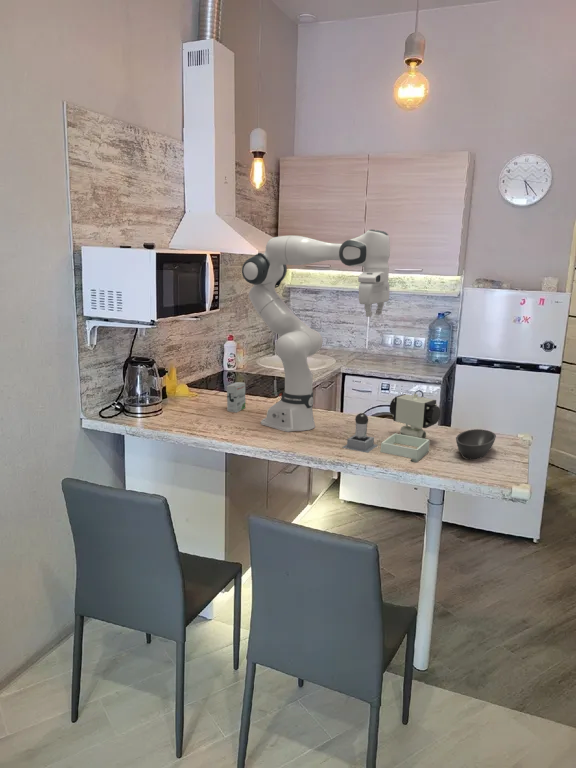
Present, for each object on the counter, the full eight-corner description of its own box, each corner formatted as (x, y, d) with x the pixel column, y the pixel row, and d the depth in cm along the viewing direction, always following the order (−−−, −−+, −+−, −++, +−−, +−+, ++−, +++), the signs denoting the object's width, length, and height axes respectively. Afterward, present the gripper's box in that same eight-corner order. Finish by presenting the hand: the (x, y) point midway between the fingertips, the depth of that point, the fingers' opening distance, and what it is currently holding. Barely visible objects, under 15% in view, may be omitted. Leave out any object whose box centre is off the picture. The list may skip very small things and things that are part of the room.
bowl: (500, 449, 213) (502, 433, 211) (481, 466, 195) (483, 448, 194) (467, 442, 219) (469, 426, 218) (446, 458, 202) (448, 441, 200)
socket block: (341, 450, 207) (342, 439, 206) (353, 443, 216) (353, 432, 215) (367, 455, 202) (368, 444, 202) (378, 448, 211) (379, 437, 210)
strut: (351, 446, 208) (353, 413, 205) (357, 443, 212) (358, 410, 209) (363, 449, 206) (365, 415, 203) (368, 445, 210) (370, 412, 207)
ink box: (236, 406, 263) (236, 381, 260) (246, 408, 261) (246, 382, 258) (226, 411, 255) (226, 385, 253) (236, 412, 253) (236, 386, 251)
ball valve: (440, 441, 220) (443, 396, 216) (429, 446, 214) (432, 400, 210) (398, 431, 231) (401, 388, 227) (387, 435, 225) (390, 391, 221)
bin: (380, 455, 204) (381, 442, 203) (393, 444, 215) (394, 433, 214) (416, 462, 197) (417, 449, 196) (428, 451, 208) (429, 439, 207)
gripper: (378, 275, 217) (376, 312, 220) (356, 277, 200) (354, 317, 203) (394, 276, 214) (392, 313, 217) (373, 277, 196) (371, 318, 200)
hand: (373, 315), depth 210 cm, fingers open, 8 cm apart
